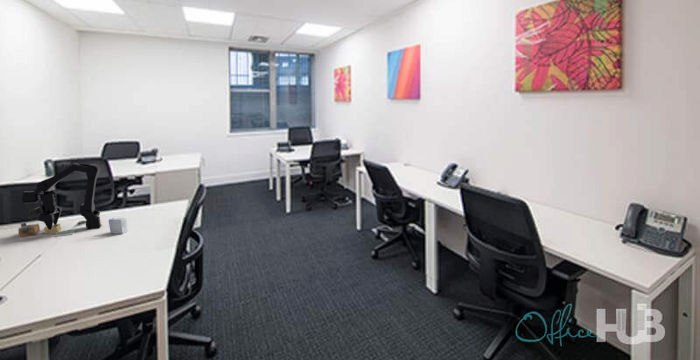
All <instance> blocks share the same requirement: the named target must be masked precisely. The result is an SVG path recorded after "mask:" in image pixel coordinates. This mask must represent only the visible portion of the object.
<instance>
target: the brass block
mask: <svg viewBox="0 0 700 360" xmlns="http://www.w3.org/2000/svg"><path fill="white" fill-rule="evenodd" d="M43 229H44V234H45V235H46V234H47V235H49V234H57V233H58V232H62V226H61V223H59V224H58V223H57V224H55V225H54V224H53V225H52V229H51V230H49V229H48V228H47V226H46V225H45V226H44V227H43Z"/></svg>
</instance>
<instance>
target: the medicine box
mask: <svg viewBox="0 0 700 360" xmlns="http://www.w3.org/2000/svg"><path fill="white" fill-rule="evenodd" d="M108 224H109V225H108V226H109V232H110V234H121V235H123V234H125V233H127V232H129V229H128V222H127V217H119V216H118V217H116V216H114V217H111V218H109V219H108Z"/></svg>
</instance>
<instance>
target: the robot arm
mask: <svg viewBox="0 0 700 360" xmlns="http://www.w3.org/2000/svg"><path fill="white" fill-rule="evenodd" d="M101 167H102V166H100V165H99V164H98V163H91V164H88V163H78V162H75V163H72V164H71V165H70V166H68V167H66V168H65V169H63V170H62V171H60V172H58V173H56V174H55V175H53V176H51V177H48V178H45V179H43V180H40V181H39V182H38V183H37V184H36V188H35V190H31V191H23V192H22V197H21V201H22V203H23V204H37V203H39V202H41V204H39V206H38V207H36V208H32V209H29V211H28V213H29V215H31V216H32V217H34V216H36V215H38V214H39V215H38V216H37V221H40V222H42V223H44V224H45V227H46V226H47V228H48V229H49V230H51V229H52V225H55V224H58V221H59V218H60V216H61V213H62V211H63V209H62V207H61V206H58V205H57V202H56V201H55V197H54V195H55V194H58V191H57V190H55V189H53V187H54V186H55V185H57V183H58V182H60V181H62V180H63V179H64V178H65V179H66V178H67V177H69V176H70V175H72V174H73V173H75V172H81V173H85V174H86V175H85V176H86V179H87V182H86V188H85V189H86V191H85V196H84V202H82V203H81V204H80V205H79V211H78V212H79V213H80V216H82V217H83V218H84V220H85V227H86V230H95V229H100V228H101V227H102V225H103V224H101V222H102V221H101V216H100V214H101V212H100V211H99V210H97V209H96V206H95V201H94V200H95V195H96V194H95V193H96V184H97V179H98V177H99V174H100V172H101V169H102V168H101ZM56 205H57V206H56Z"/></svg>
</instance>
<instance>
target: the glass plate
mask: <svg viewBox="0 0 700 360" xmlns="http://www.w3.org/2000/svg"><path fill="white" fill-rule="evenodd" d="M75 232H76V229H74V230H73V229H72V230H65V231H60V232H58V233H55V235H54V238H56V237H65V236H72V235H73V234H75Z"/></svg>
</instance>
